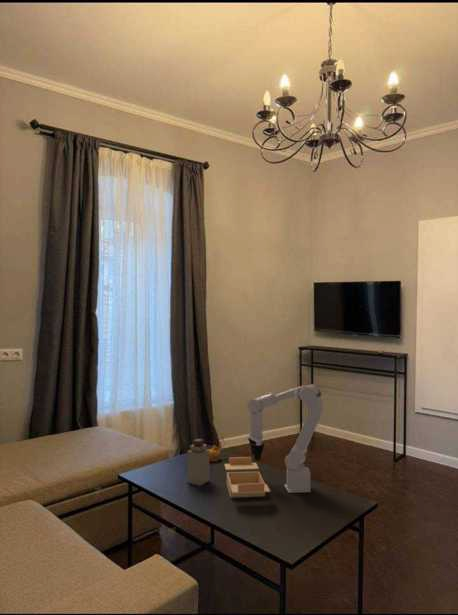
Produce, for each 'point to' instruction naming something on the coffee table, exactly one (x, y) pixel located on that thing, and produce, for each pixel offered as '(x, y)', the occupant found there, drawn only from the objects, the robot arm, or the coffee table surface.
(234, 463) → the far panel
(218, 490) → the coffee table surface
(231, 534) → the coffee table surface
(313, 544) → the coffee table surface
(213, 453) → the magic lamp
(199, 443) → the perfume bottle
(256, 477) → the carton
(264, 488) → the near panel
